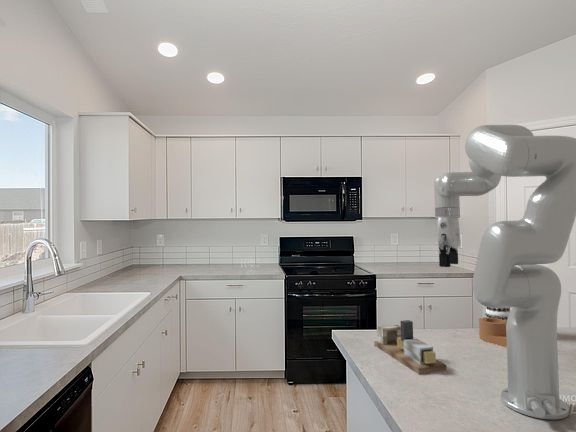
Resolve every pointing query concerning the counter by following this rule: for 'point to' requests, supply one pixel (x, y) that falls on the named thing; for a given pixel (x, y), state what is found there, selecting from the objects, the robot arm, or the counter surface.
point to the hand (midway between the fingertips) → (449, 265)
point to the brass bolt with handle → (407, 333)
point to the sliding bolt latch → (406, 350)
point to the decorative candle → (498, 313)
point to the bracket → (493, 331)
